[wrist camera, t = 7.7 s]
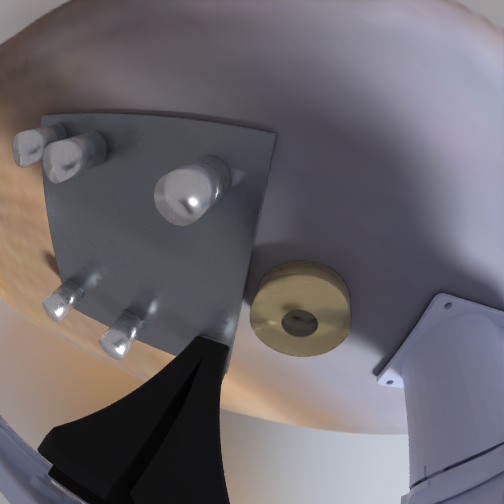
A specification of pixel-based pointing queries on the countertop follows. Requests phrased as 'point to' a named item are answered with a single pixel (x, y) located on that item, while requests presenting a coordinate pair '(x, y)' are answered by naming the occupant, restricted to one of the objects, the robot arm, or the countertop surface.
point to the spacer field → (150, 222)
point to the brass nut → (301, 309)
